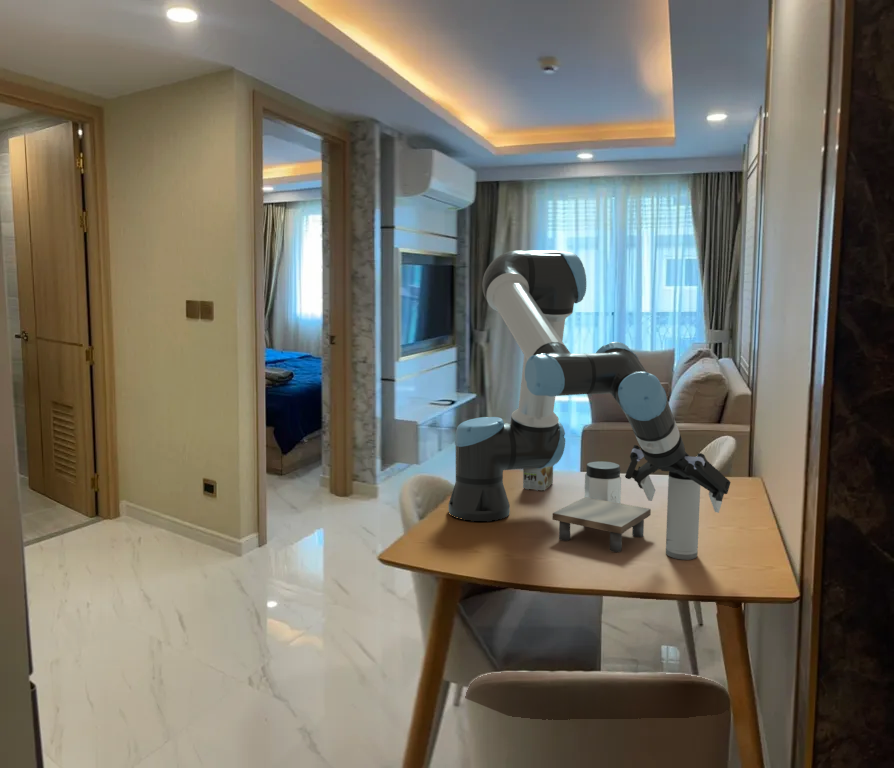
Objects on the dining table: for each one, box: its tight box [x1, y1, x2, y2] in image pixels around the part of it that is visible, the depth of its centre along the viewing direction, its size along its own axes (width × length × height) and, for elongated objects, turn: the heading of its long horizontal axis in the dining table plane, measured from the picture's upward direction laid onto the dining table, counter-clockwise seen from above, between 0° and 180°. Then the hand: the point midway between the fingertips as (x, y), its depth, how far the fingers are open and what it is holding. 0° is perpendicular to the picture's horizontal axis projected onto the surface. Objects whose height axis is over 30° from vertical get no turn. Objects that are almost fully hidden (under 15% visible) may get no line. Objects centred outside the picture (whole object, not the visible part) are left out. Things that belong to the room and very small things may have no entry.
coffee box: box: [522, 466, 554, 491], centre depth 202 cm, size 9×6×16 cm
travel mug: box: [665, 468, 701, 561], centre depth 148 cm, size 6×7×20 cm
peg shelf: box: [552, 496, 652, 553], centre depth 160 cm, size 16×16×6 cm
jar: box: [584, 460, 622, 503], centre depth 178 cm, size 9×8×12 cm
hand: (684, 500), depth 146 cm, fingers open, 13 cm apart
